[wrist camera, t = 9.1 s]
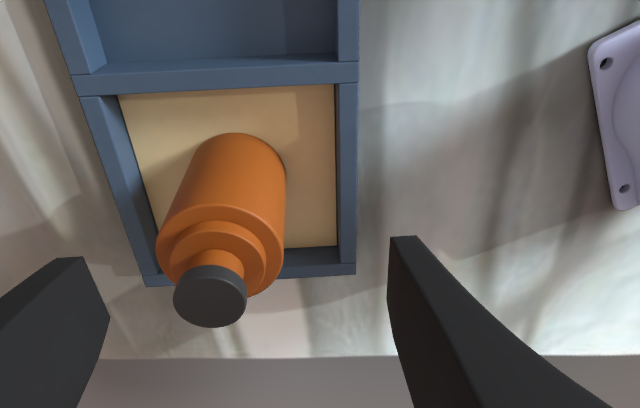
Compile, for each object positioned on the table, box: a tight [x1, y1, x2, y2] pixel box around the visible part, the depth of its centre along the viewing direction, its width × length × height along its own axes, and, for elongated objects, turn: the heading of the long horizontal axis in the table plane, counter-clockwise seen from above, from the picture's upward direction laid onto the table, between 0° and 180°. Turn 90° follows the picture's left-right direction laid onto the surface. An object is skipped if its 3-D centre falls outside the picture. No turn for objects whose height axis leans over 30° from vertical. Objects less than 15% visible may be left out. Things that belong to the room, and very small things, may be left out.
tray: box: [44, 0, 360, 287], centre depth 17 cm, size 20×11×2 cm, turn 2°
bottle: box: [156, 133, 286, 328], centre depth 16 cm, size 4×4×8 cm
